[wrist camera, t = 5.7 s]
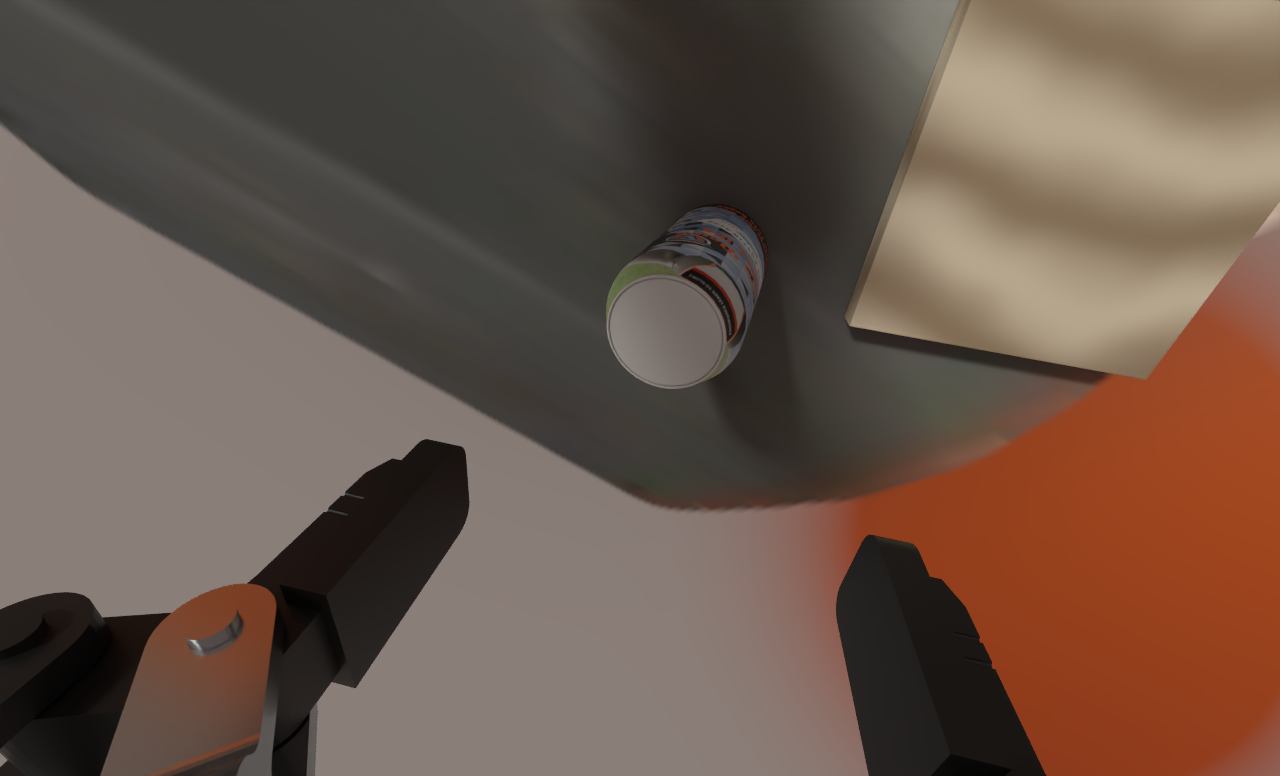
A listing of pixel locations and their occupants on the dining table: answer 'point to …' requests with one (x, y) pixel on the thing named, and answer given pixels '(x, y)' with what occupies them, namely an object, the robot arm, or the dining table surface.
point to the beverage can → (688, 298)
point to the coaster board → (1079, 178)
